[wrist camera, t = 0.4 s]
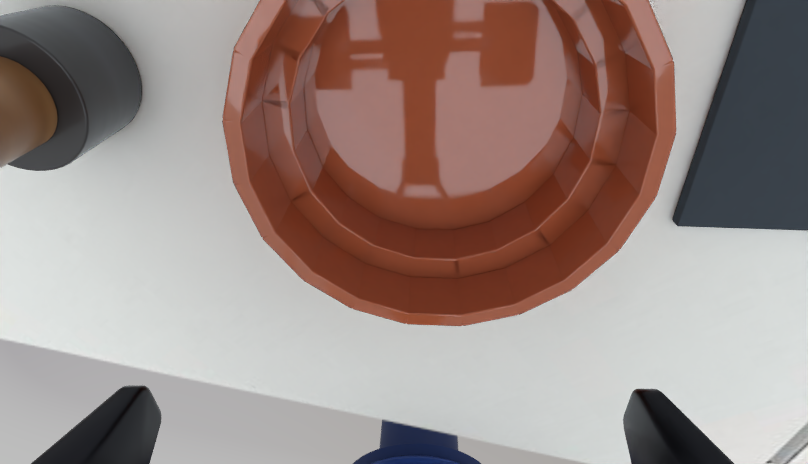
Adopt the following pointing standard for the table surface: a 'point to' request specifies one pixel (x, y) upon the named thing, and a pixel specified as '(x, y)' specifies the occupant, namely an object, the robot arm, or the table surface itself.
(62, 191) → the table surface
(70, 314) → the table surface
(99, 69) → the wooden peg on base
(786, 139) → the mat
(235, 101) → the bowl
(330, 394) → the table surface
